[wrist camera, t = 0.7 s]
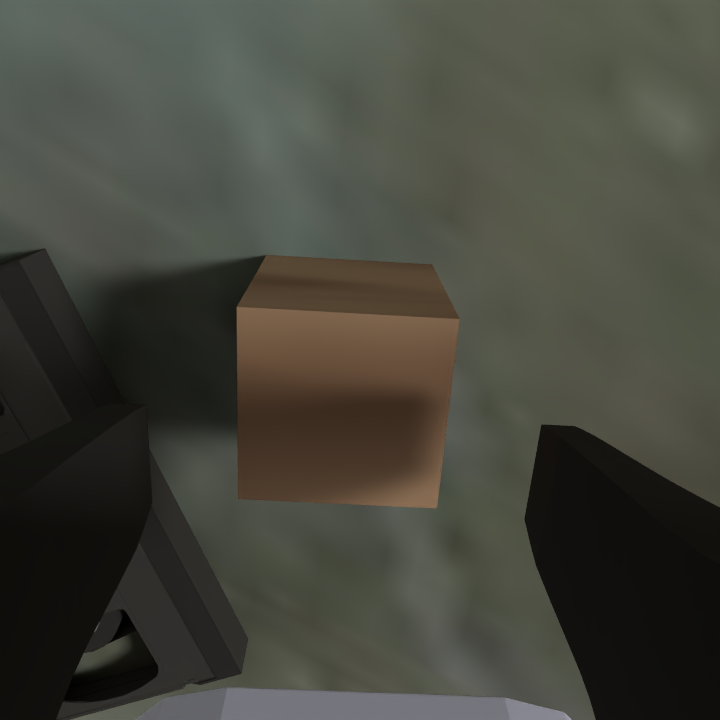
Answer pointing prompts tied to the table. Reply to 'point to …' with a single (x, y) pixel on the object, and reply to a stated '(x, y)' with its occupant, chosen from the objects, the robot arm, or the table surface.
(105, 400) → the vhs tape
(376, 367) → the walnut block
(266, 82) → the table surface
